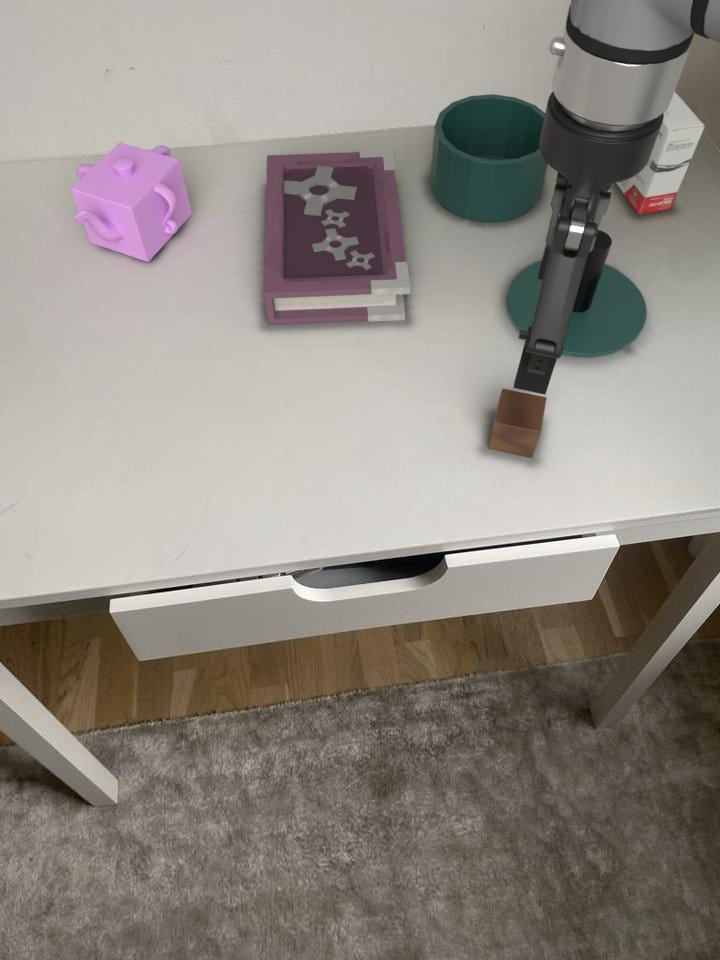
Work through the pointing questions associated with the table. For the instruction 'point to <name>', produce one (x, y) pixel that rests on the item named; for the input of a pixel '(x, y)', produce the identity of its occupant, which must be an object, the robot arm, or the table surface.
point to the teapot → (132, 200)
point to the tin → (488, 158)
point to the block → (517, 423)
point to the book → (333, 239)
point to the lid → (587, 305)
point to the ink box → (665, 160)
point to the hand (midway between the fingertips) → (541, 330)
